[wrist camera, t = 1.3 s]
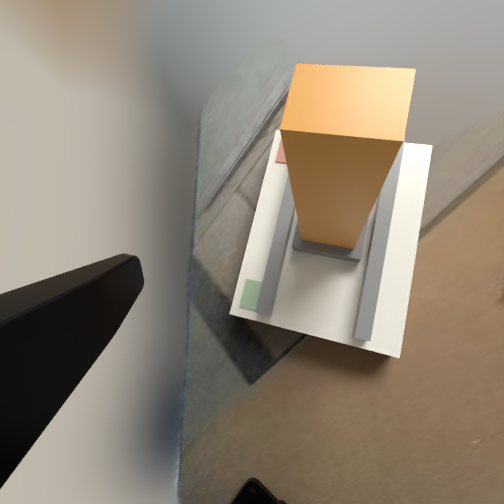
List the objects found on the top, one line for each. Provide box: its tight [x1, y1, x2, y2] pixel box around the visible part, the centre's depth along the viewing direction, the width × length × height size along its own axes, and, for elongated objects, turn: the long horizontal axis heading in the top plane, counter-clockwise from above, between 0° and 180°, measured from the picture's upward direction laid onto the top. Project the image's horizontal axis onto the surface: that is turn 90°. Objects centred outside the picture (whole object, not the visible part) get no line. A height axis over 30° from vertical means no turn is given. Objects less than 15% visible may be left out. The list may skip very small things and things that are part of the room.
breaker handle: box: [280, 64, 416, 263], centre depth 14 cm, size 3×4×12 cm
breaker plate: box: [230, 130, 432, 358], centre depth 20 cm, size 13×10×3 cm
